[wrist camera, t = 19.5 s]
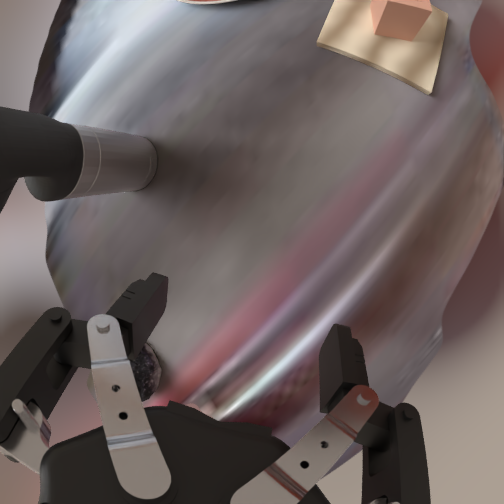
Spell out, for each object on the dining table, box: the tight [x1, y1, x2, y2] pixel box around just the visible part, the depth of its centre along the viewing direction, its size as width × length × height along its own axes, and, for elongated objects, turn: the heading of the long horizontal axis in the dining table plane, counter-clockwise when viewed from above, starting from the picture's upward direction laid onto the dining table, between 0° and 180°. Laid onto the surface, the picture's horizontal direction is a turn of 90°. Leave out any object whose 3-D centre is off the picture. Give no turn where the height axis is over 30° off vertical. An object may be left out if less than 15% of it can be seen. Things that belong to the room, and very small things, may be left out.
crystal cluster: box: [127, 343, 162, 402], centre depth 50 cm, size 13×14×10 cm
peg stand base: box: [317, 0, 448, 95], centre depth 26 cm, size 18×18×10 cm
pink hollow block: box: [370, 0, 432, 42], centre depth 25 cm, size 6×6×10 cm
